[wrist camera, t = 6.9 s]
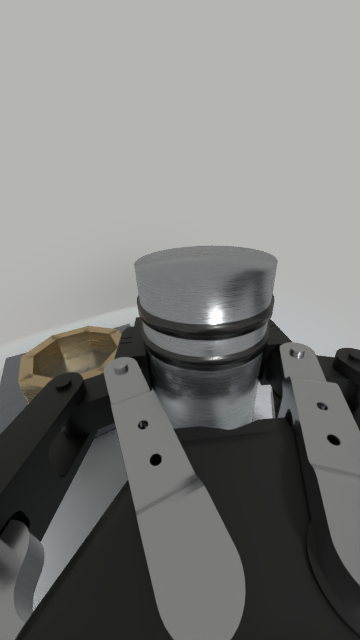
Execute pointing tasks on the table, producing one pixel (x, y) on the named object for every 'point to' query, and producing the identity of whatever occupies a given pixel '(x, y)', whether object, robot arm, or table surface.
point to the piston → (206, 330)
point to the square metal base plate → (55, 366)
